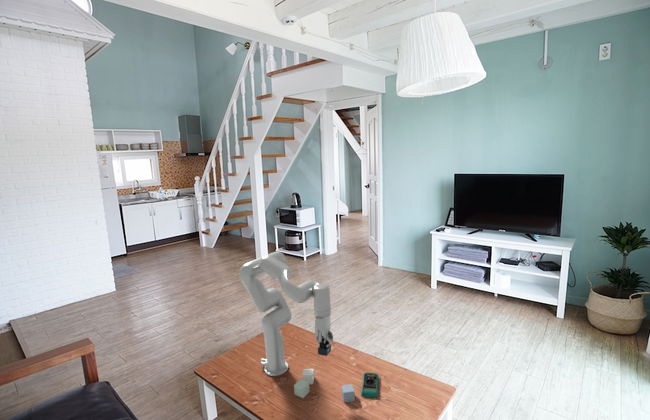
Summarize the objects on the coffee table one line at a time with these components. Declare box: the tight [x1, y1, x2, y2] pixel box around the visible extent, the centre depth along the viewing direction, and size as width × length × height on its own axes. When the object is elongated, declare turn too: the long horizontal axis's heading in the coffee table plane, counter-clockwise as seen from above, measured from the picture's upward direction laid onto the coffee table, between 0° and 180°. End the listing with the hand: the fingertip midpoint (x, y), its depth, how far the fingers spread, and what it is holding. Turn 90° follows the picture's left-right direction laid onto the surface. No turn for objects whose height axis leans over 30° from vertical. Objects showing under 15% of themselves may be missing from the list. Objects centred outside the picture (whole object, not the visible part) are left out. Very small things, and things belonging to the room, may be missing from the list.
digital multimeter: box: [360, 372, 380, 398], centre depth 164 cm, size 7×15×3 cm, turn 169°
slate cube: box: [341, 383, 356, 403], centre depth 157 cm, size 5×5×5 cm
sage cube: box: [293, 378, 310, 399], centre depth 161 cm, size 5×5×5 cm
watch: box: [315, 329, 334, 357], centre depth 159 cm, size 6×8×11 cm
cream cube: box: [301, 368, 315, 385], centre depth 170 cm, size 5×5×5 cm
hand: (324, 347), depth 159 cm, fingers closed on watch, 3 cm apart
